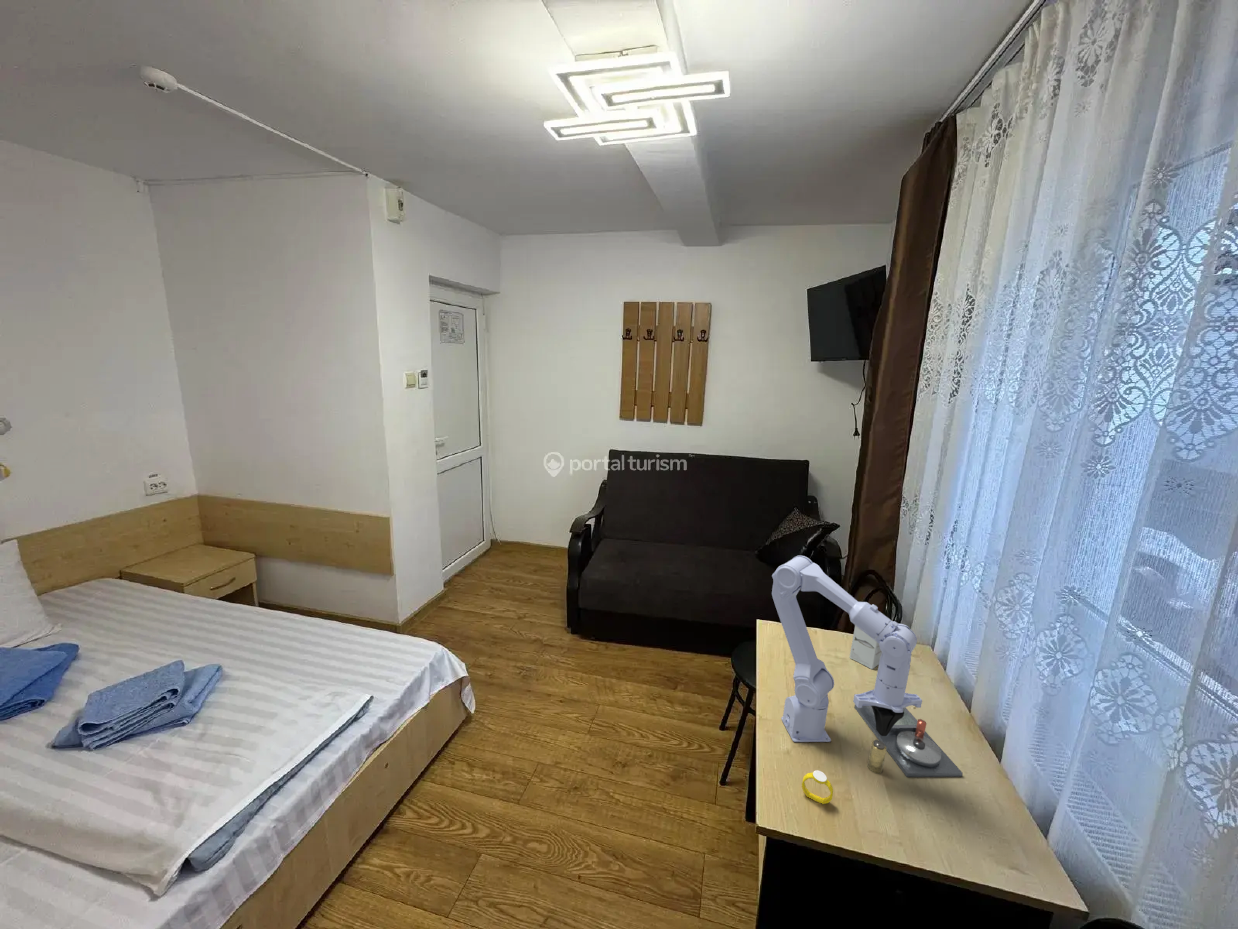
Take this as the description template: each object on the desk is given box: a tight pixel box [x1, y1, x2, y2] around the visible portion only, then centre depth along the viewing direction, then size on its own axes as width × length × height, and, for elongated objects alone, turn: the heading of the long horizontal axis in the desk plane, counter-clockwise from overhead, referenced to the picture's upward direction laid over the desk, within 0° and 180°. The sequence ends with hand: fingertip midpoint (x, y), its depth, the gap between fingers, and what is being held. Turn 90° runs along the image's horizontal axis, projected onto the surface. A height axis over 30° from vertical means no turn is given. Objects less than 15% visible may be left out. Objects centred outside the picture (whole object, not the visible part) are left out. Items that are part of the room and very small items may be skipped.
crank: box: [896, 718, 941, 767], centre depth 112 cm, size 9×9×6 cm
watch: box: [801, 769, 834, 805], centre depth 100 cm, size 6×3×6 cm, turn 60°
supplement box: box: [849, 624, 882, 670], centre depth 148 cm, size 7×7×13 cm
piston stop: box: [867, 739, 887, 775], centre depth 108 cm, size 3×3×7 cm
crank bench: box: [854, 704, 963, 778], centre depth 118 cm, size 13×22×4 cm, turn 3°
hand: (881, 732), depth 107 cm, fingers closed
